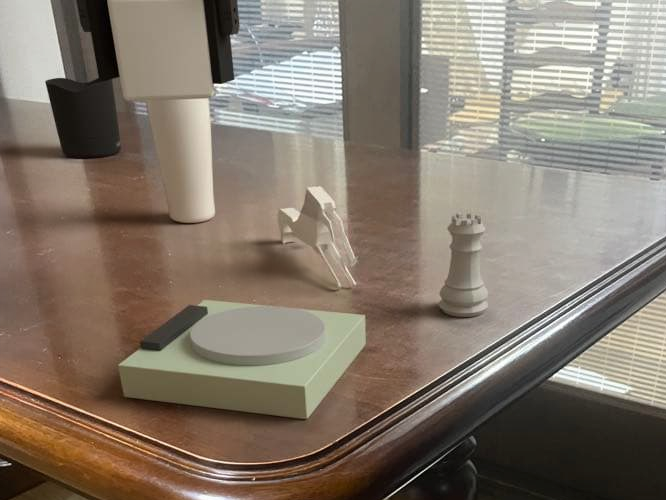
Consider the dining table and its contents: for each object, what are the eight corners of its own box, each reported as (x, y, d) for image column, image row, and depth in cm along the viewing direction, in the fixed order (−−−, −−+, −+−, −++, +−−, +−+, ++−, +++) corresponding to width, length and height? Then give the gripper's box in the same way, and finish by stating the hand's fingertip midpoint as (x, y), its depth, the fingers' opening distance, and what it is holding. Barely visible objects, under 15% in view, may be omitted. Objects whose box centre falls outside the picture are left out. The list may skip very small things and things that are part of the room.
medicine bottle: (209, 86, 76) (190, -82, 70) (214, 98, 71) (194, -84, 64) (125, 89, 75) (97, -82, 68) (123, 102, 69) (93, -84, 62)
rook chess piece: (496, 315, 77) (502, 221, 72) (449, 321, 75) (452, 225, 71) (476, 298, 80) (480, 208, 76) (430, 304, 79) (432, 212, 74)
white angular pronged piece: (348, 340, 88) (291, 229, 96) (362, 246, 79) (297, 132, 87) (331, 343, 87) (275, 230, 96) (343, 249, 78) (279, 133, 86)
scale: (123, 397, 63) (115, 354, 61) (207, 328, 74) (202, 289, 72) (307, 419, 60) (304, 375, 58) (366, 344, 71) (365, 305, 69)
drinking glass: (152, 217, 103) (130, 75, 95) (202, 208, 107) (185, 69, 99) (182, 229, 99) (161, 81, 91) (233, 219, 103) (217, 75, 94)
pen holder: (89, 162, 129) (75, 86, 123) (47, 154, 133) (31, 81, 128) (137, 151, 136) (125, 78, 130) (95, 144, 140) (82, 74, 134)
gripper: (287, -287, 60) (308, 78, 73) (5, -272, 65) (71, 70, 77) (247, -312, 54) (277, 90, 67) (-62, -294, 59) (21, 81, 71)
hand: (166, 79), depth 72 cm, fingers closed on medicine bottle, 9 cm apart
